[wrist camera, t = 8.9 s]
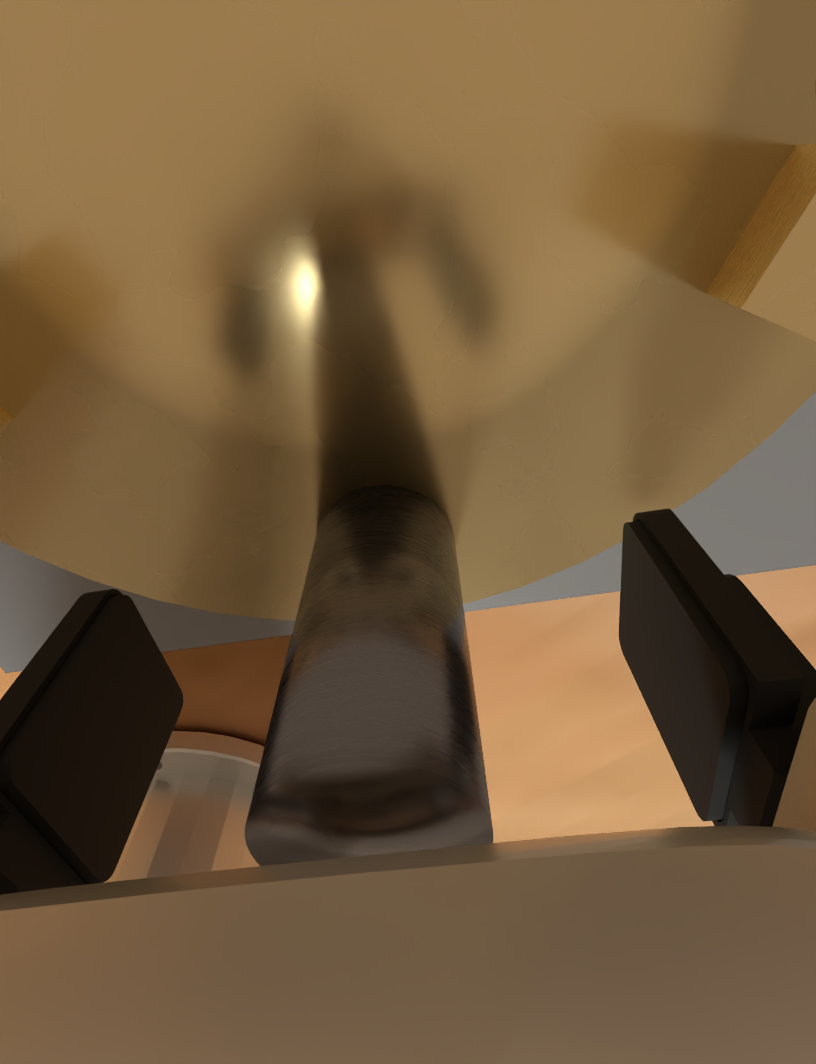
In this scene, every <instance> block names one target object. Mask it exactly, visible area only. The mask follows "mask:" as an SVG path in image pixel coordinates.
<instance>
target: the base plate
mask: <svg viewBox="0 0 816 1064" xmlns="http://www.w3.org/2000/svg"><path fill="white" fill-rule="evenodd" d="M673 512H674V513H675V515H676V516H677V517H678V518H679V520H680V521H681V522H682V523H683V525H684V526H685V527H686V528H687V529H688V531H689V532H690V533H691V534H692V536H693V537H694V538H695V539H696V541H697V542H698V543H699V544H700V546H701V547H702V548H703V549H704V550H705V552H706V553H707V554H708V555H709V557H710V558H711V559H712V560H713V562H714V563H715V564H716V565H717V567H718V568H719V569H720V570H721V571H722V573H723V574H724V575H726V574H731V575H734V576H737V575H744V574H752V573H759V572H767V571H774V570H782V569H789V568H797V567H804V566H812V565H816V392H815V393H814V394H813V395H812V396H810V397H809V398H808V399H807V400H806V401H805V402H804V403H803V404H802V405H801V406H800V407H799V408H798V409H797V410H796V411H795V412H794V413H793V414H792V415H791V416H790V417H789V418H788V419H787V420H786V421H785V422H784V423H783V424H782V425H781V426H780V427H779V428H778V429H777V430H776V431H775V432H774V433H773V434H772V435H771V436H770V437H768V438H767V439H766V440H765V441H764V442H762V443H761V444H760V445H759V446H757V447H756V448H755V449H754V450H752V451H751V452H750V453H749V454H748V455H746V456H745V457H744V458H743V459H741V460H740V461H739V462H738V463H737V464H735V465H734V466H733V467H732V468H730V469H729V470H728V471H727V472H725V473H724V474H723V475H722V476H721V477H719V478H718V479H717V480H716V481H714V482H713V483H712V484H711V485H709V486H708V487H707V488H706V489H704V490H703V491H701V492H700V493H698V494H697V495H695V496H694V497H692V498H691V499H689V500H688V501H686V502H685V503H683V504H682V505H680V506H679V507H677V508H676V509H674V510H673ZM621 566H622V542H620V543H618V544H616V545H614V546H612V547H610V548H608V549H606V550H605V551H603V552H601V553H599V554H597V555H595V556H593V557H591V558H590V559H588V560H586V561H584V562H582V563H579V564H577V565H574V566H572V567H570V568H567V569H565V570H562V571H560V572H557V573H555V574H552V575H550V576H548V577H545V578H543V579H540V580H538V581H535V582H533V583H531V584H528V585H526V586H523V587H520V588H517V589H513V590H510V591H507V592H503V593H500V594H496V595H493V596H490V597H486V598H483V599H480V600H476V601H473V602H469V603H466V604H463V607H464V612H467V611H474V610H482V609H489V608H497V607H504V606H512V605H519V604H527V603H534V602H542V601H549V600H557V599H564V598H572V597H579V596H587V595H594V594H602V593H609V592H617V591H621ZM109 589H117V590H119V591H120V592H121V593H122V594H123V595H128V596H129V597H130V598H131V599H132V600H133V602H134V604H135V606H136V608H137V610H138V611H139V613H140V615H141V617H142V619H143V621H144V622H145V624H146V626H147V628H148V630H149V632H150V633H151V635H152V637H153V639H154V641H155V643H156V644H157V646H158V648H159V650H160V652H167V651H174V650H182V649H189V648H197V647H204V646H212V645H219V644H227V643H234V642H242V641H249V640H257V639H264V638H272V637H279V636H287V635H292V632H293V628H294V624H295V620H275V619H266V618H257V617H248V616H239V615H231V614H222V613H216V612H211V611H206V610H201V609H196V608H192V607H187V606H182V605H177V604H173V603H168V602H163V601H158V600H154V599H151V598H148V597H144V596H141V595H138V594H135V593H131V592H128V591H125V590H122V589H119V588H115V587H112V586H109V585H106V584H102V583H99V582H96V581H93V580H90V579H87V578H85V577H82V576H80V575H77V574H75V573H72V572H70V571H67V570H65V569H63V568H60V567H58V566H55V565H53V564H50V563H48V562H45V561H43V560H40V559H38V558H35V557H33V556H31V555H28V554H26V553H23V552H21V551H19V550H17V549H15V548H13V547H11V546H9V545H8V544H6V543H4V542H2V541H0V667H1V668H2V669H3V670H4V672H5V673H9V672H17V671H23V670H24V668H25V667H26V666H27V665H28V663H29V662H30V661H31V659H32V658H33V657H34V655H35V654H36V653H37V652H38V650H39V649H40V648H41V646H42V645H43V644H44V642H45V641H46V640H47V639H48V637H49V636H50V635H51V633H52V632H53V631H54V629H55V628H56V627H57V626H58V624H59V623H60V622H61V620H62V619H63V618H64V616H65V615H66V614H67V613H68V611H69V610H70V609H71V607H72V606H73V605H74V603H75V602H76V601H77V600H78V598H79V597H80V596H81V595H82V594H84V593H88V592H95V591H102V590H109Z"/></svg>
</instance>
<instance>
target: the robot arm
mask: <svg viewBox="0 0 816 1064" xmlns="http://www.w3.org/2000/svg"><path fill="white" fill-rule="evenodd" d="M619 640H620V645H621V649H622V652H623V655H624V657H625V659H626V661H627V663H628V665H629V668H630V670H631V672H632V674H633V676H634V678H635V680H636V683H637V685H638V687H639V689H640V691H641V693H642V696H643V698H644V700H645V702H646V704H647V706H648V709H649V711H650V713H651V715H652V717H653V719H654V721H655V724H656V726H657V728H658V730H659V732H660V734H661V737H662V739H663V741H664V743H665V745H666V747H667V750H668V752H669V754H670V756H671V758H672V760H673V762H674V765H675V767H676V769H677V771H678V773H679V775H680V778H681V780H682V782H683V784H684V786H685V788H686V791H687V793H688V795H689V797H690V799H691V801H692V804H693V806H694V808H695V810H696V812H697V814H698V816H699V817H700V818H701V819H702V820H703V821H711V820H712V821H713V823H714V825H715V826H708V827H678V828H665V829H653V830H640V831H627V832H614V833H601V834H589V835H576V836H564V837H553V838H543V839H532V840H522V841H511V842H501V843H490V844H480V845H469V846H459V847H449V848H438V849H428V850H417V851H407V852H396V853H386V854H376V855H366V856H356V857H346V858H336V859H326V860H316V861H306V862H297V863H287V864H277V865H267V866H260V865H259V864H258V863H257V862H256V861H255V859H254V858H253V857H252V855H251V854H250V852H249V849H248V847H247V845H246V841H245V825H246V820H247V816H248V812H249V808H250V804H251V800H252V796H253V792H254V788H255V784H256V779H257V775H258V771H259V767H260V763H261V759H262V755H263V751H264V746H262V745H259V744H256V743H253V742H249V741H246V740H242V739H238V738H235V737H231V736H225V735H219V734H212V733H206V732H190V731H173V729H174V727H175V724H176V722H177V719H178V717H179V714H180V712H181V709H182V706H183V694H182V691H181V688H180V687H179V685H178V683H177V681H176V679H175V677H174V676H173V674H172V672H171V670H170V668H169V666H168V665H167V663H166V661H165V659H164V657H163V655H162V654H161V652H160V650H159V648H158V646H157V644H156V643H155V641H154V639H153V637H152V635H151V633H150V632H149V630H148V628H147V626H146V624H145V622H144V621H143V619H142V617H141V615H140V613H139V611H138V610H137V608H136V606H135V604H134V602H133V600H132V599H131V598H130V597H129V596H128V595H123V594H122V593H121V592H120V591H119V590H117V589H109V590H102V591H95V592H88V593H84V594H82V595H81V596H80V597H79V598H78V600H77V601H76V602H75V603H74V605H73V606H72V607H71V609H70V610H69V611H68V613H67V614H66V615H65V616H64V618H63V619H62V620H61V622H60V623H59V624H58V626H57V627H56V628H55V629H54V631H53V632H52V633H51V635H50V636H49V637H48V639H47V640H46V641H45V642H44V644H43V645H42V646H41V648H40V649H39V650H38V652H37V653H36V654H35V655H34V657H33V658H32V659H31V661H30V662H29V663H28V665H27V666H26V667H25V668H24V670H23V671H22V672H21V674H20V675H19V676H18V678H17V679H16V680H15V681H14V683H13V684H12V685H11V687H10V688H9V689H8V691H7V692H6V693H5V694H4V696H3V697H2V698H1V700H0V1064H816V670H815V668H814V667H813V666H812V665H811V664H810V663H809V661H808V660H807V659H806V658H805V657H804V655H803V654H802V653H801V652H800V651H799V649H798V648H797V647H796V646H795V645H794V643H793V642H792V641H791V640H790V639H789V637H788V636H787V635H786V634H785V633H784V632H783V630H782V629H781V628H780V627H779V626H778V624H777V623H776V622H775V621H774V620H773V618H772V617H771V616H770V615H769V614H768V612H767V611H766V610H765V609H764V608H763V606H762V605H761V604H760V603H759V602H758V601H757V599H756V598H755V597H754V596H753V595H752V593H751V592H750V591H749V590H748V589H747V587H746V586H745V585H744V584H743V583H742V581H740V580H739V579H738V578H737V577H736V576H734V575H731V574H726V575H724V574H723V573H722V571H721V570H720V569H719V568H718V567H717V565H716V564H715V563H714V562H713V560H712V559H711V558H710V557H709V555H708V554H707V553H706V552H705V550H704V549H703V548H702V547H701V546H700V544H699V543H698V542H697V541H696V539H695V538H694V537H693V536H692V534H691V533H690V532H689V531H688V529H687V528H686V527H685V526H684V525H683V523H682V522H681V521H680V520H679V518H678V517H677V516H676V515H675V513H674V512H673V511H672V510H671V509H660V510H653V511H646V512H639V513H636V514H635V515H634V517H633V522H626V523H625V524H624V526H623V541H622V566H621V592H620V617H619Z"/></svg>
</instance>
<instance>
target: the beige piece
mask: <svg viewBox="0 0 816 1064" xmlns="http://www.w3.org/2000/svg"><path fill="white" fill-rule="evenodd" d="M815 392H816V0H0V541H2V542H4V543H6V544H8V545H9V546H11V547H13V548H15V549H17V550H19V551H21V552H23V553H26V554H28V555H31V556H33V557H35V558H38V559H40V560H43V561H45V562H48V563H50V564H53V565H55V566H58V567H60V568H63V569H65V570H67V571H70V572H72V573H75V574H77V575H80V576H82V577H85V578H87V579H90V580H93V581H96V582H99V583H102V584H106V585H109V586H112V587H115V588H119V589H122V590H125V591H128V592H131V593H135V594H138V595H141V596H144V597H148V598H151V599H154V600H158V601H163V602H168V603H173V604H177V605H182V606H187V607H192V608H196V609H201V610H206V611H211V612H216V613H222V614H231V615H239V616H248V617H257V618H266V619H275V620H295V624H294V628H293V632H292V636H291V640H290V644H289V648H288V653H287V657H286V661H285V665H284V669H283V673H282V677H281V681H280V685H279V689H278V694H277V698H276V702H275V706H274V710H273V714H272V718H271V722H270V726H269V730H268V734H267V739H266V743H265V747H264V751H263V755H262V759H261V763H260V767H259V771H258V775H257V779H256V784H255V788H254V792H253V796H252V800H251V804H250V808H249V812H248V816H247V820H246V825H245V841H246V845H247V847H248V849H249V852H250V854H251V855H252V857H253V858H254V859H255V861H256V862H257V863H258V864H259V865H260V866H267V865H277V864H287V863H297V862H306V861H316V860H326V859H336V858H346V857H356V856H366V855H376V854H386V853H396V852H407V851H417V850H428V849H438V848H449V847H459V846H469V845H480V844H490V843H493V828H492V821H491V813H490V806H489V798H488V790H487V783H486V775H485V767H484V760H483V752H482V745H481V737H480V729H479V722H478V714H477V706H476V699H475V691H474V684H473V676H472V668H471V661H470V653H469V645H468V638H467V630H466V623H465V615H464V607H463V604H466V603H469V602H473V601H476V600H480V599H483V598H486V597H490V596H493V595H496V594H500V593H503V592H507V591H510V590H513V589H517V588H520V587H523V586H526V585H528V584H531V583H533V582H535V581H538V580H540V579H543V578H545V577H548V576H550V575H552V574H555V573H557V572H560V571H562V570H565V569H567V568H570V567H572V566H574V565H577V564H579V563H582V562H584V561H586V560H588V559H590V558H591V557H593V556H595V555H597V554H599V553H601V552H603V551H605V550H606V549H608V548H610V547H612V546H614V545H616V544H618V543H620V542H622V541H623V526H624V524H625V523H626V522H633V517H634V515H635V514H636V513H639V512H646V511H653V510H660V509H671V510H672V511H673V510H674V509H676V508H677V507H679V506H680V505H682V504H683V503H685V502H686V501H688V500H689V499H691V498H692V497H694V496H695V495H697V494H698V493H700V492H701V491H703V490H704V489H706V488H707V487H708V486H709V485H711V484H712V483H713V482H714V481H716V480H717V479H718V478H719V477H721V476H722V475H723V474H724V473H725V472H727V471H728V470H729V469H730V468H732V467H733V466H734V465H735V464H737V463H738V462H739V461H740V460H741V459H743V458H744V457H745V456H746V455H748V454H749V453H750V452H751V451H752V450H754V449H755V448H756V447H757V446H759V445H760V444H761V443H762V442H764V441H765V440H766V439H767V438H768V437H770V436H771V435H772V434H773V433H774V432H775V431H776V430H777V429H778V428H779V427H780V426H781V425H782V424H783V423H784V422H785V421H786V420H787V419H788V418H789V417H790V416H791V415H792V414H793V413H794V412H795V411H796V410H797V409H798V408H799V407H800V406H801V405H802V404H803V403H804V402H805V401H806V400H807V399H808V398H809V397H810V396H812V395H813V394H814V393H815Z"/></svg>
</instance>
